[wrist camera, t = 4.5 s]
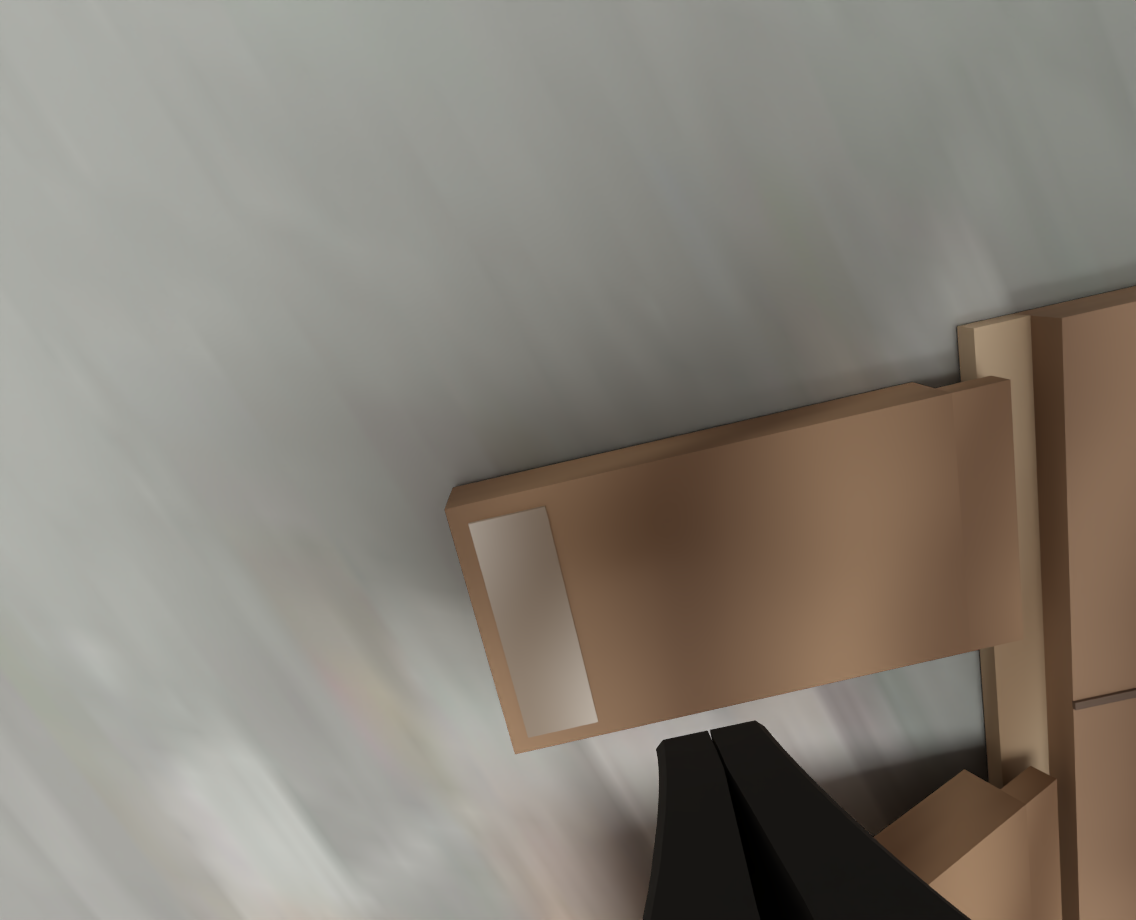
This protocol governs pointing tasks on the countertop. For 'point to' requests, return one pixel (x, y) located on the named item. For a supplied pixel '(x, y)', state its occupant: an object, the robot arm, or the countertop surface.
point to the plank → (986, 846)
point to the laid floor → (1071, 583)
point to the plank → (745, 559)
